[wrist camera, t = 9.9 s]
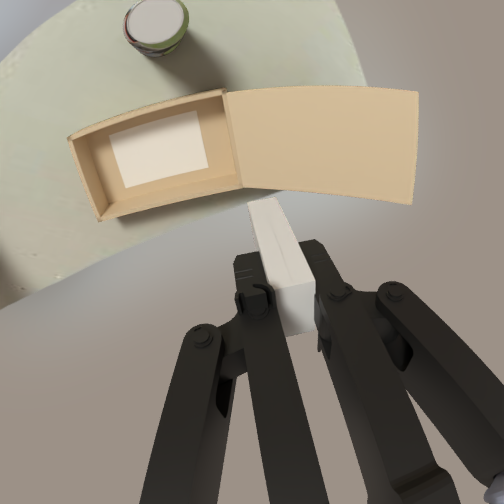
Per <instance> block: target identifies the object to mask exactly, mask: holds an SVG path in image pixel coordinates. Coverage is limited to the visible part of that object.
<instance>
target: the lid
mask: <svg viewBox="0 0 504 504" xmlns="http://www.w3.org/2000/svg"><path fill="white" fill-rule="evenodd" d="M226 94H227V99H228V105H229V110H230V116H231V121H232V127H233V133H234V138H235V144H236V149H237V155H238V160H239V166H240V172H241V177H242V183H243V187H247V188H263V189H277V190H290V191H302V192H312V193H322V194H332V195H341V196H350V197H358V198H366V199H374V200H381V201H388V202H394V203H401V204H408V205H412V199H413V190H414V182H415V171H416V160H417V145H418V115H419V112H418V111H419V97H418V92H415V91H408V90H399V89H389V88H376V87H362V86H289V87H273V88H261V89H251V90H242V91H234V92H227V93H226Z"/></svg>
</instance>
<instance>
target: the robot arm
mask: <svg viewBox="0 0 504 504" xmlns="http://www.w3.org/2000/svg"><path fill="white" fill-rule="evenodd" d="M247 204H248V210H249V216H250V221H251V227H252V233H253V239H254V244H255V249H256V252H252V253H247V254H242V255H237V256H236V258H235V261H234V263H233V265H234V273H235V281H236V288H237V292H236V293H235V303H236V306H237V310H238V312H237V314H236V315H235V317H234V318H233V319H232V320H231V321H229V322H227V323H225V324H223V325H221V326H219V327H216V326H214V325H211V324H199V325H197V326H195V327H193V328H191V329H190V330H189V331H188V332H187V333H186V335H185V337H184V339H183V343H182V346H181V349H180V352H179V356H178V359H177V362H176V366H175V369H174V373H173V376H172V379H171V383H170V386H169V390H168V394H167V397H166V401H165V404H164V408H163V412H162V415H161V419H160V423H159V426H158V430H157V433H156V437H155V442H154V445H153V449H152V453H151V457H150V461H149V465H148V469H147V473H146V477H145V481H144V486H143V490H142V494H141V498H140V503H139V504H217V501H218V494H219V488H220V482H221V475H222V469H223V462H224V456H225V450H226V444H227V437H228V431H229V423H230V417H231V412H232V404H233V399H234V392H235V385H236V379H237V377H238V376H239V375H242V374H244V373H246V372H248V379H249V385H250V392H251V398H252V403H253V410H254V416H255V422H256V427H257V434H258V440H259V445H260V451H261V457H262V463H263V468H264V474H265V479H266V485H267V490H268V495H269V501H270V504H329V501H328V496H327V493H326V489H325V485H324V481H323V477H322V474H321V469H320V465H319V462H318V458H317V454H316V450H315V446H314V443H313V439H312V435H311V431H310V427H309V424H308V420H307V416H306V412H305V408H304V405H303V401H302V398H301V394H300V390H299V386H298V382H297V379H296V376H295V371H294V368H293V364H292V360H291V357H290V353H289V350H288V346H287V342H286V338H285V337H288V336H293V335H297V334H302V333H306V332H310V331H314V330H315V324H316V327H317V330H318V352H320V351H321V350H322V353H323V356H324V358H325V361H326V364H327V367H328V370H329V373H330V376H331V379H332V382H333V385H334V388H335V391H336V394H337V397H338V400H339V403H340V405H341V408H342V412H343V415H344V418H345V421H346V424H347V427H348V430H349V434H350V437H351V440H352V443H353V446H354V450H355V453H356V456H357V459H358V463H359V466H360V469H361V473H362V476H363V479H364V482H365V486H366V490H367V494H368V500H367V504H461V503H460V500H459V497H458V494H457V491H456V488H455V485H454V482H453V480H452V477H451V475H450V474H449V473H448V472H447V471H446V470H445V469H443V468H441V467H439V466H438V464H437V463H436V461H435V459H434V456H433V454H432V451H431V448H430V446H429V443H428V441H427V438H426V436H425V433H424V431H423V428H422V426H421V423H420V421H419V419H418V416H417V414H416V412H415V409H414V407H413V405H412V402H411V400H410V398H409V396H408V394H407V391H408V392H409V394H410V395H411V396H412V397H413V399H414V400H415V401H416V402H417V404H418V405H419V406H420V408H421V409H422V410H423V411H424V413H425V414H426V415H427V417H428V418H429V419H430V420H431V422H432V423H433V424H434V426H436V428H437V429H438V431H439V432H440V433H441V435H442V436H443V437H444V438H445V440H446V441H447V443H448V444H449V445H450V447H451V448H452V449H453V450H454V452H455V453H456V454H457V456H458V457H459V459H460V460H461V461H462V462H463V464H464V465H465V467H466V468H467V469H468V471H469V472H470V473H471V474H472V475H473V476H474V478H476V479H477V480H478V481H479V482H480V483H482V484H483V485H485V486H486V487H488V489H487V490H486V492H485V494H484V501H485V502H487V503H489V504H504V385H503V384H502V383H501V382H500V380H499V379H498V378H497V377H496V376H495V375H494V374H493V373H492V371H491V370H490V369H489V368H488V367H487V366H486V365H485V364H484V362H483V361H482V360H481V359H480V358H479V357H478V356H477V355H476V354H475V353H474V352H473V351H472V350H471V349H470V348H469V346H468V345H467V344H466V343H465V342H464V341H463V340H462V339H461V338H460V337H459V336H458V335H457V334H456V333H455V332H454V331H453V330H452V329H451V328H450V327H449V326H448V325H447V324H446V323H445V322H444V321H443V320H442V319H441V318H440V317H439V316H438V315H437V314H436V313H435V312H434V311H433V310H431V309H430V308H429V307H428V306H427V305H426V304H425V303H424V302H423V301H422V300H421V299H420V298H419V297H418V296H417V295H415V294H414V293H413V292H412V291H411V290H410V289H409V288H408V287H407V286H405V285H404V284H402V283H399V282H396V281H389V282H386V283H383V284H382V285H381V286H380V287H379V289H378V291H377V292H363V291H357V290H355V289H354V288H353V287H352V286H351V285H349V284H348V283H346V282H344V281H343V279H342V278H341V276H340V274H339V272H338V270H337V269H336V267H335V265H334V263H333V262H332V260H331V258H330V256H329V255H328V254H327V251H326V249H325V248H324V246H323V244H321V243H319V242H318V241H316V240H315V239H313V240H308V241H303V242H297V240H296V238H295V236H294V233H293V231H292V229H291V227H290V225H289V223H288V221H287V219H286V217H285V215H284V213H283V211H282V209H281V207H280V205H279V203H278V200H277V198H276V197H272V198H267V199H262V200H256V201H251V202H247ZM406 390H407V391H406Z"/></svg>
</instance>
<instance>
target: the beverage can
mask: <svg viewBox="0 0 504 504" xmlns="http://www.w3.org/2000/svg"><path fill="white" fill-rule="evenodd" d="M188 23H189V14H188V10H187V8H186V7H185V5H184V4H183V3H182V2H181V1H180V0H140V1H138V2H137V3H136V4H134V5H133V6H132V7H131V8H130V9H129V11H128V12H127V14H126V16H125V18H124V22H123V32H124V35H125V38H126V39H127V41H128V42H129V43H130V44H131V45H132V46H133V47H135V48H136V49H137V50H138V51H139V52H140V53H142V54H144V55H146V56H150V57H159V56H163V55H166V54H168V53H170V52H172V51H173V50H174V49H175V48H176V47H177V46H178V45H179V43H180V42H181V40H182V38H183V36H184V34H185V32H186V30H187V27H188Z"/></svg>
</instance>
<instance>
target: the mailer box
mask: <svg viewBox="0 0 504 504" xmlns="http://www.w3.org/2000/svg"><path fill="white" fill-rule="evenodd" d="M226 93H227V89H226V88H225V87H224V88H219V89H213V90H208V91H204V92H199V93H195V94H190V95H186V96H182V97H178V98H174V99H170V100H166V101H163V102H159V103H155V104H152V105H149V106H145V107H142V108H139V109H136V110H133V111H130V112H127V113H124V114H121V115H118V116H115V117H112V118H109V119H107V120H104V121H101V122H99V123H96V124H94V125H91V126H89V127H86V128H84V129H81V130H79V131H78V132H76V133H74V134H72V135H70V136H69V137H67V140H68V143H69V146H70V149H71V152H72V155H73V158H74V161H75V164H76V167H77V170H78V173H79V175H80V178H81V181H82V183H83V186H84V189H85V191H86V194H87V196H88V199H89V201H90V204H91V206H92V208H93V211H94V213H95V216H96V218H97V220H98V222H101V221H105V220H109V219H112V218H116V217H119V216H123V215H127V214H131V213H135V212H138V211H142V210H146V209H150V208H154V207H158V206H162V205H167V204H171V203H175V202H179V201H184V200H188V199H193V198H197V197H202V196H206V195H211V194H216V193H221V192H225V191H230V190H236V189H241V188H244V187H243V183H242V177H241V172H240V166H239V160H238V155H237V149H236V144H235V138H234V133H233V127H232V121H231V116H230V110H229V105H228V99H227V94H226Z"/></svg>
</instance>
